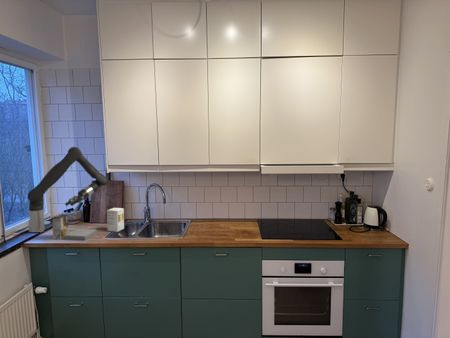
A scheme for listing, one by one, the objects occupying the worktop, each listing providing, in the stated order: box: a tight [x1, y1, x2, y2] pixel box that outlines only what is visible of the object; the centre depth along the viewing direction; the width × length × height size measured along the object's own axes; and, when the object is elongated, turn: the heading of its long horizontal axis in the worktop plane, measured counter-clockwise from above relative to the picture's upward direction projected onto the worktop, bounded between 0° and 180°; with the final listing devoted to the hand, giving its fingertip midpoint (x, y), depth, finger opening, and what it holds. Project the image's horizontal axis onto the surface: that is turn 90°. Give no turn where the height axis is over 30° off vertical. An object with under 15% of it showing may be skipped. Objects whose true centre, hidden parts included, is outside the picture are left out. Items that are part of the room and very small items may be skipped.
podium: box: [63, 228, 98, 241], centre depth 210 cm, size 16×16×3 cm
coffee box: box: [51, 213, 70, 240], centre depth 206 cm, size 9×6×16 cm
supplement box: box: [106, 207, 125, 233], centre depth 225 cm, size 10×9×17 cm
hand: (68, 204), depth 215 cm, fingers open, 8 cm apart
